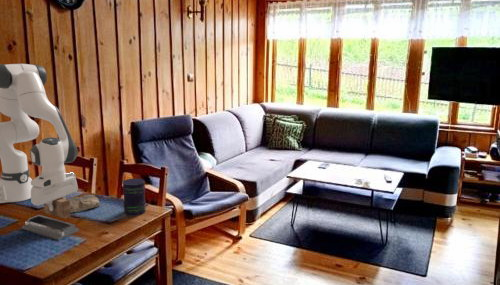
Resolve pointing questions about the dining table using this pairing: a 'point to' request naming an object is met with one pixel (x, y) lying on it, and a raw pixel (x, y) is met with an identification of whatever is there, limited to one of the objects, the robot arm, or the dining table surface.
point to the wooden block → (59, 208)
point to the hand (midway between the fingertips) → (57, 208)
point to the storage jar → (134, 196)
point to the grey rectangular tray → (49, 227)
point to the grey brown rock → (83, 203)
